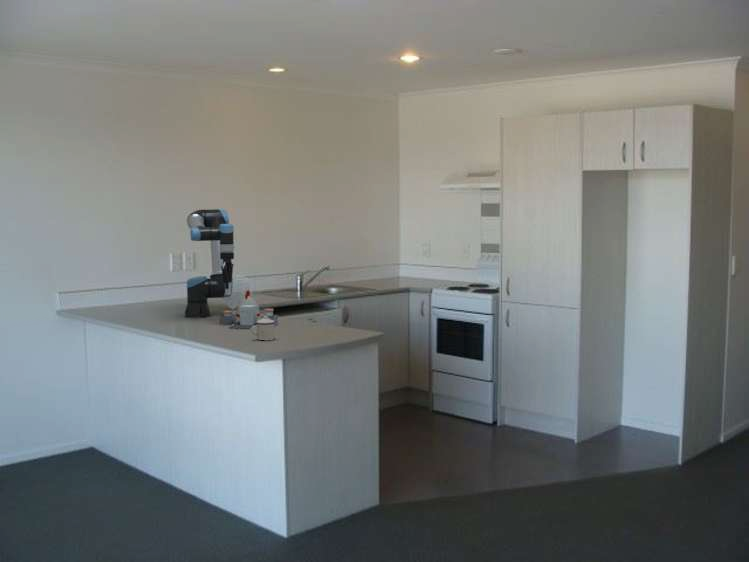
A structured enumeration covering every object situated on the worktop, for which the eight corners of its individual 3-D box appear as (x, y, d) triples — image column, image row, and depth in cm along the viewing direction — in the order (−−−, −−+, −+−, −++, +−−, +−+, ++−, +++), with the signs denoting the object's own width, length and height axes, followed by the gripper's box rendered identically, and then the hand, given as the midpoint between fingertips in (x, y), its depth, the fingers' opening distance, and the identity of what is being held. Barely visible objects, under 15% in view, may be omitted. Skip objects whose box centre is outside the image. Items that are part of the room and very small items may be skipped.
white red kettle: (262, 314, 489) (261, 289, 487) (256, 317, 475) (256, 292, 473) (239, 314, 490) (238, 289, 488) (233, 317, 476) (232, 292, 475)
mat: (234, 326, 444) (234, 324, 444) (255, 326, 442) (255, 325, 442) (228, 328, 436) (228, 327, 436) (249, 329, 433) (249, 328, 433)
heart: (211, 308, 517) (210, 273, 515) (233, 305, 527) (232, 271, 524) (232, 312, 495) (231, 276, 493) (254, 310, 505) (254, 274, 502)
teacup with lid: (271, 337, 408) (271, 314, 407) (277, 340, 400) (277, 316, 399) (248, 339, 403) (248, 316, 402) (254, 342, 395) (253, 318, 394)
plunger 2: (266, 318, 450) (266, 308, 449) (274, 319, 449) (274, 308, 449) (263, 320, 445) (263, 309, 445) (272, 320, 444) (272, 309, 444)
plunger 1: (225, 320, 454) (225, 310, 454) (233, 320, 454) (233, 310, 453) (222, 322, 450) (221, 311, 449) (230, 322, 449) (230, 311, 448)
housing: (225, 322, 458) (225, 313, 458) (278, 323, 453) (278, 314, 452) (217, 325, 447) (217, 316, 446) (272, 326, 441) (272, 317, 441)
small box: (257, 324, 451) (256, 305, 450) (253, 325, 446) (252, 306, 445) (244, 323, 453) (243, 304, 452) (239, 325, 448) (239, 306, 447)
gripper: (229, 252, 440) (230, 296, 443) (237, 251, 453) (238, 293, 456) (216, 252, 442) (217, 295, 444) (224, 251, 455) (225, 293, 457)
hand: (228, 294), depth 450 cm, fingers closed
